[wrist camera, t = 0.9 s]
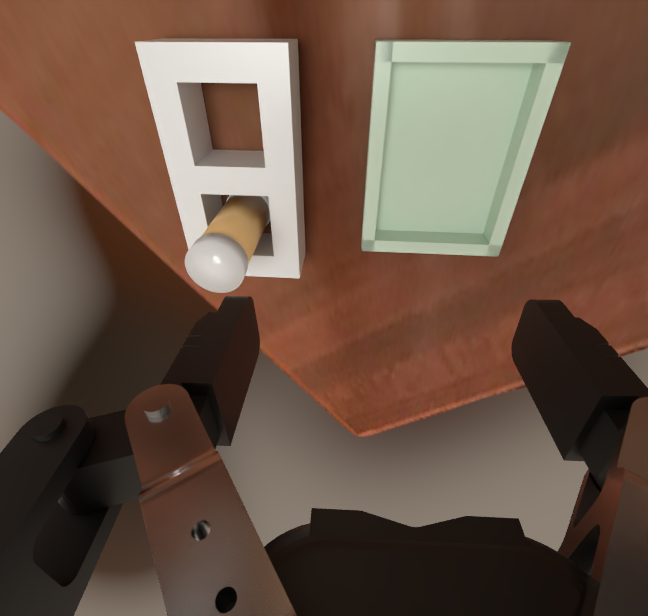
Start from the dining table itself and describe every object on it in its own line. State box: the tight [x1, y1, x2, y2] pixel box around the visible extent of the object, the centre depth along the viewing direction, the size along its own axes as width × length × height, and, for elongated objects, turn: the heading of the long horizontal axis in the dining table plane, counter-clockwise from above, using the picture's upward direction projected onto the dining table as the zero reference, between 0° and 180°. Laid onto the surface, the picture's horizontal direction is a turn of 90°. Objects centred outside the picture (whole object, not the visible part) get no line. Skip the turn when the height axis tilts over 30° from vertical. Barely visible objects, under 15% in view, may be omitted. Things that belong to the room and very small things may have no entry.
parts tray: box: [361, 39, 571, 256], centre depth 27 cm, size 14×11×2 cm
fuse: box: [185, 195, 270, 293], centre depth 27 cm, size 4×4×10 cm
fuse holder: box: [135, 38, 306, 278], centre depth 28 cm, size 16×9×4 cm, turn 0°
